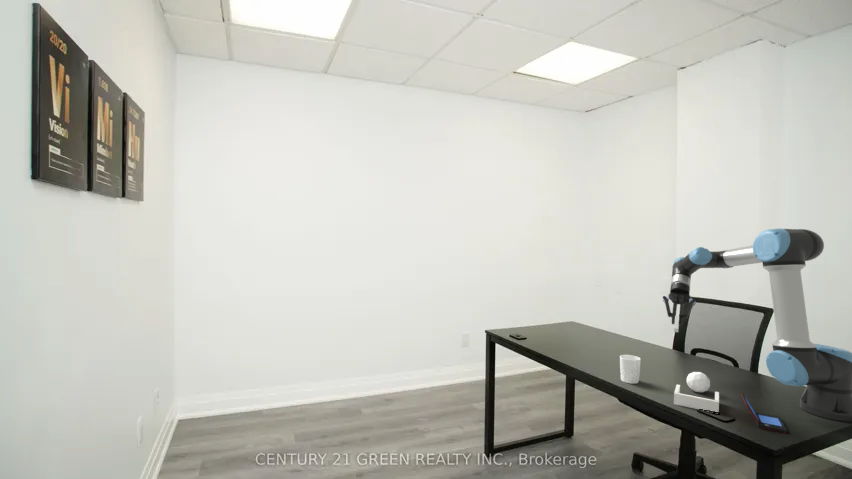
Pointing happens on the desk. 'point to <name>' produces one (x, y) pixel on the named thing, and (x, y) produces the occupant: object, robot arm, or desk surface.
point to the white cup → (630, 368)
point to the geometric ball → (698, 382)
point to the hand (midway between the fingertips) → (676, 330)
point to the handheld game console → (766, 419)
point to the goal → (696, 401)
